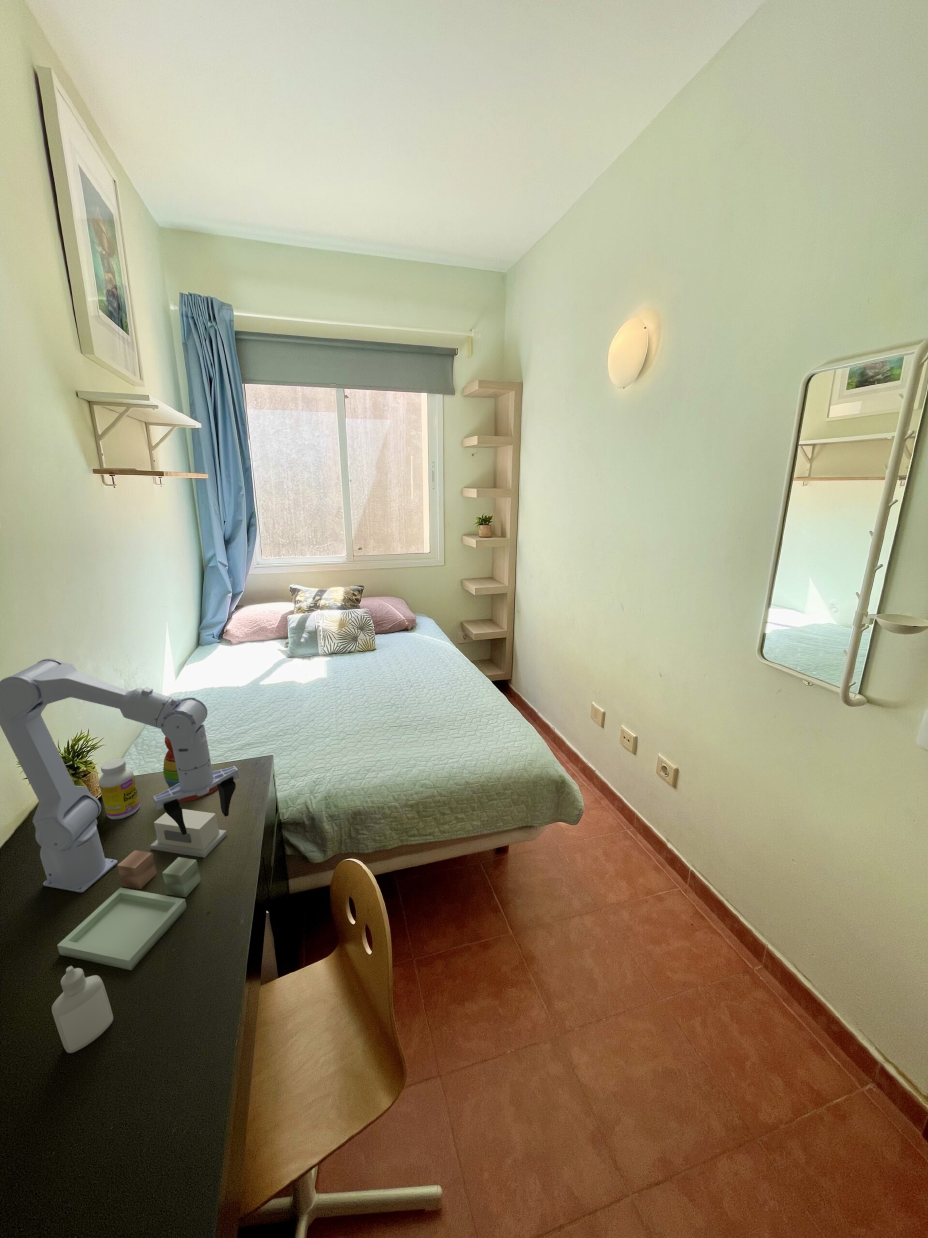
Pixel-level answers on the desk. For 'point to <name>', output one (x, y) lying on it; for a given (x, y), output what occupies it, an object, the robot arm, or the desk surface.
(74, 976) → the eye dropper bottle
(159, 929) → the sage tray
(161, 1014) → the desk surface
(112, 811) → the supplement bottle
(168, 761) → the stacking bear
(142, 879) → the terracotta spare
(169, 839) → the mounted unit
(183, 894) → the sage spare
